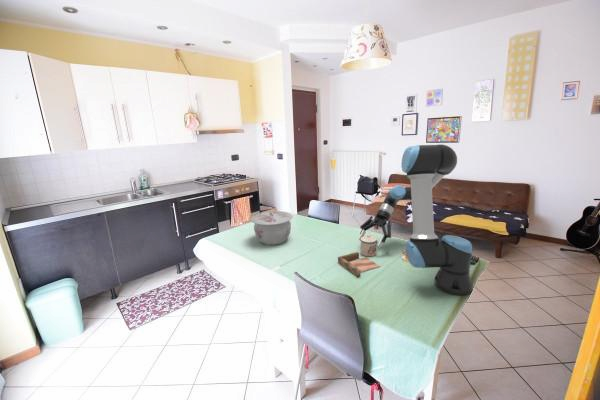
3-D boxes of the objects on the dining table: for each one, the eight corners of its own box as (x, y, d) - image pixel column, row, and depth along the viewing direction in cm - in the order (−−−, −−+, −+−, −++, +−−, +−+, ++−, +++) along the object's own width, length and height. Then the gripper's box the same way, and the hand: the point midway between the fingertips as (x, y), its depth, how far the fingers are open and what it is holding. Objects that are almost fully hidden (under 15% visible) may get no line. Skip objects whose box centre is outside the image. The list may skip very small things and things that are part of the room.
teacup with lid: (369, 258, 157) (369, 239, 154) (357, 253, 164) (357, 234, 161) (382, 252, 163) (383, 233, 160) (370, 247, 171) (371, 229, 168)
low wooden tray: (384, 269, 145) (384, 263, 144) (357, 277, 138) (357, 271, 137) (362, 255, 160) (362, 250, 160) (338, 262, 154) (337, 256, 153)
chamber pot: (279, 252, 169) (276, 220, 164) (244, 245, 183) (241, 215, 178) (301, 236, 193) (300, 207, 188) (269, 230, 206) (267, 204, 201)
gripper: (406, 220, 160) (390, 252, 155) (370, 211, 179) (355, 240, 174) (401, 213, 156) (385, 246, 150) (365, 205, 174) (349, 234, 169)
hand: (368, 243), depth 162 cm, fingers open, 13 cm apart
